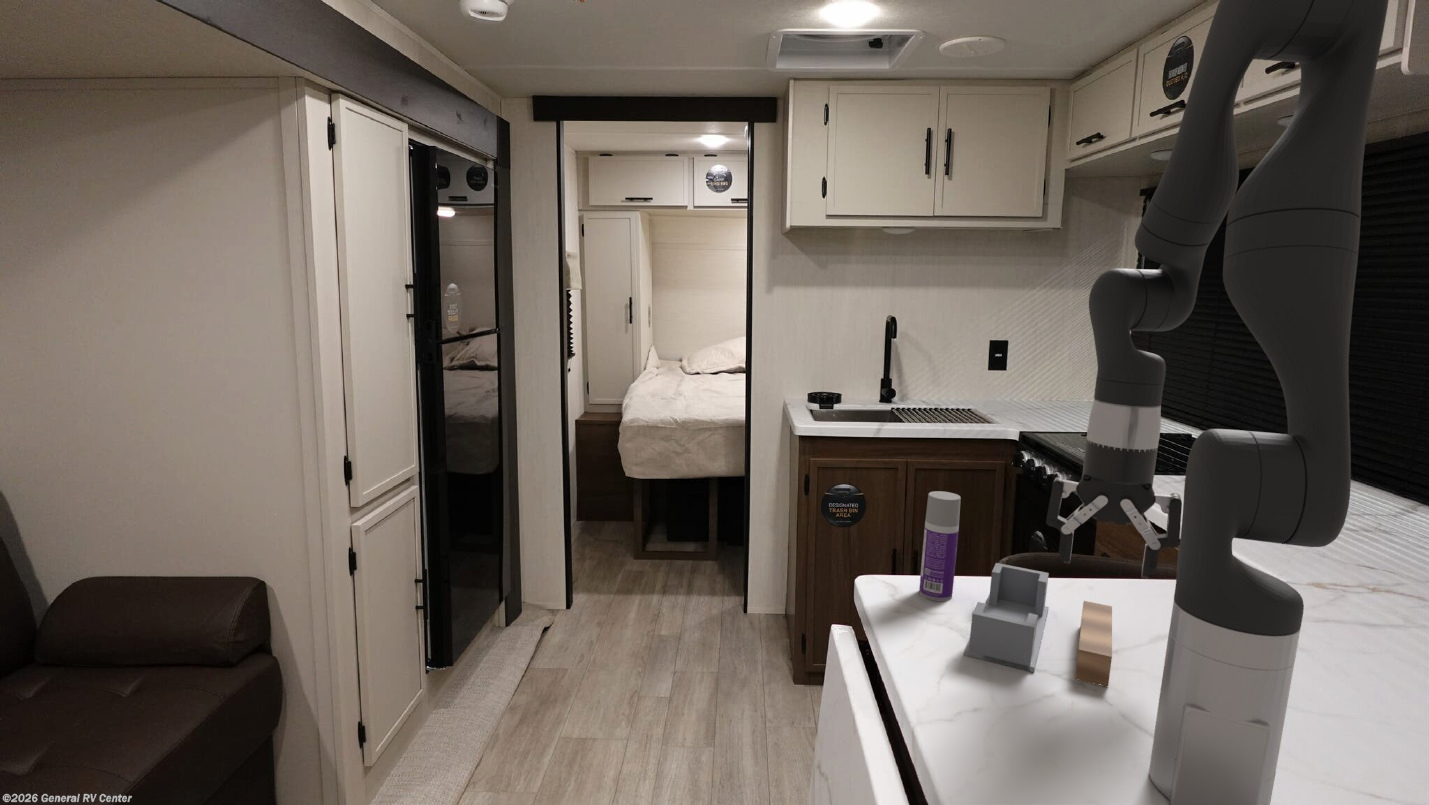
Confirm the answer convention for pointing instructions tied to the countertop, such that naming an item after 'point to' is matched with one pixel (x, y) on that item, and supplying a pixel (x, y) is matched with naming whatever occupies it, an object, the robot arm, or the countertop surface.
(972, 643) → the endcap rail
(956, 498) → the container
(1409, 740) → the countertop surface
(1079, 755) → the countertop surface
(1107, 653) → the slat
